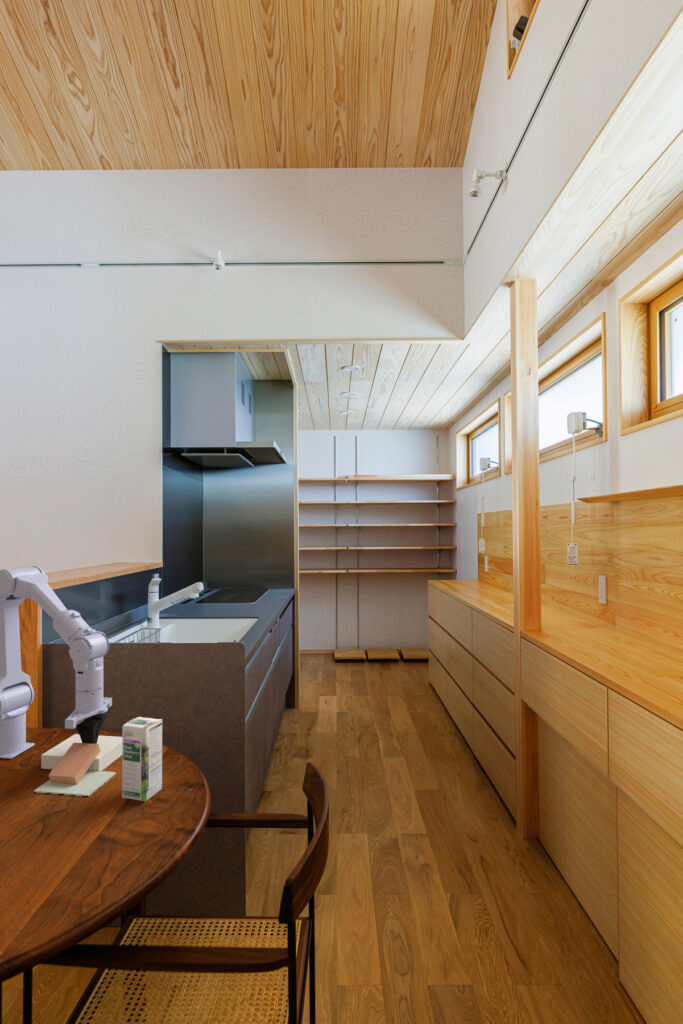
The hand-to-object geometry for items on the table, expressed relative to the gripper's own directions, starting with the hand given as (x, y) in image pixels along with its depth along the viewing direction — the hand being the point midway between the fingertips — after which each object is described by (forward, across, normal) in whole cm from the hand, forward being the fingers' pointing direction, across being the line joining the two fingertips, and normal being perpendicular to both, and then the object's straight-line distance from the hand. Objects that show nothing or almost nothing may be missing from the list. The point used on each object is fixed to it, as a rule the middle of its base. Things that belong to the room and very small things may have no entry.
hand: (89, 749), depth 125 cm
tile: (+2, -5, 0) cm, 5 cm away
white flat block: (+4, +3, +3) cm, 6 cm away
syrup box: (+4, -10, -18) cm, 21 cm away
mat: (+4, -8, -2) cm, 9 cm away
